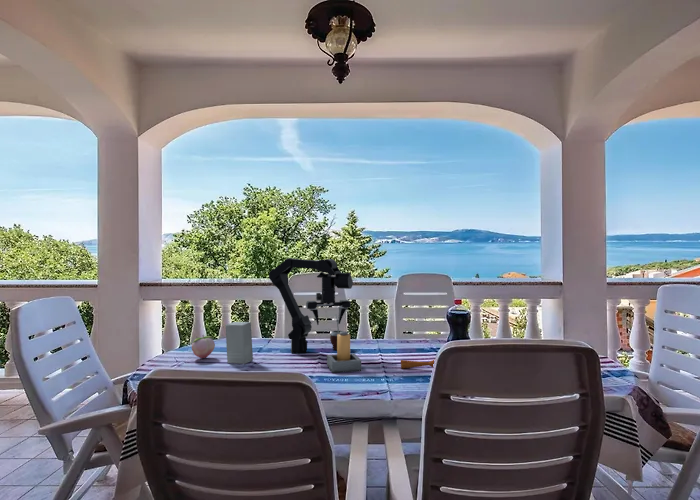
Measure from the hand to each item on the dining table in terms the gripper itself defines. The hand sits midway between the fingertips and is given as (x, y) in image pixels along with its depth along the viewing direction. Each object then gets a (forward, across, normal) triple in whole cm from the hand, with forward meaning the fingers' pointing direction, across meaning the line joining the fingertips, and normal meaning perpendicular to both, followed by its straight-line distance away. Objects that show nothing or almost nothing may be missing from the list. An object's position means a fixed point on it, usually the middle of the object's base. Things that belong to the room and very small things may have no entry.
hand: (328, 324), depth 179 cm
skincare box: (+13, +37, +4) cm, 39 cm away
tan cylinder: (+12, -2, +22) cm, 25 cm away
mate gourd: (+13, -6, -10) cm, 18 cm away
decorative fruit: (+13, +52, -5) cm, 54 cm away
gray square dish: (+13, -2, +22) cm, 26 cm away
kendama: (+14, -32, +31) cm, 47 cm away
